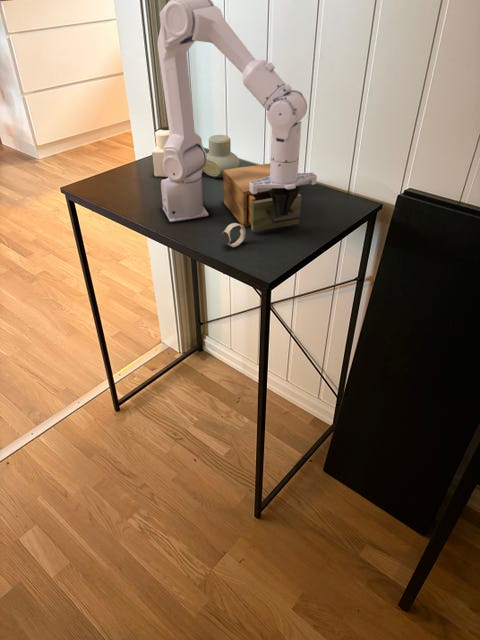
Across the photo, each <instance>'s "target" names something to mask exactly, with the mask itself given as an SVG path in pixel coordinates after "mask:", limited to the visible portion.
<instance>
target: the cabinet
mask: <svg viewBox="0 0 480 640" xmlns="http://www.w3.org/2000/svg"><path fill="white" fill-rule="evenodd" d="M268 176H270V163H269V162H268V163H263V164H257V165H249V166H240V167H239V168H233V169H226V170H223V179H222V181H223V204H224V205H225V206H226V208H227V209H228V211H230V213H231V214H232V215H233V216H234V218H235V219H236V220H237V221H238V222H239V224H240V225H242V226H244V227H245V228H246V227H251V224H250V222H249V221H248V220H247V194H252V193H251V192H250V191H249V182H252V181H256V180H259V179H262V178H265V177H268ZM261 192H266V191H261ZM257 193H260V192H257Z"/></svg>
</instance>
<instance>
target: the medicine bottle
mask: <svg viewBox="0 0 480 640" xmlns="http://www.w3.org/2000/svg"><path fill="white" fill-rule="evenodd" d="M169 135H170V133H169V126H161V127H159V128H157V129H155V131H154V137H155V138H154V139H155V145H156V146H155V147H154V148H153V150H152V151H151V156H152V157H151V158H152V168H153V175H154V177H156V178H157V177H159V178H168V177H167V175H166V174H165V172H164V170H163V165H162V163H163V158H164V146H165V144H166V142H167V140H168V138H169Z"/></svg>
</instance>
